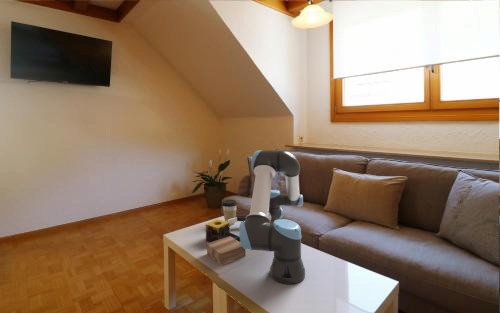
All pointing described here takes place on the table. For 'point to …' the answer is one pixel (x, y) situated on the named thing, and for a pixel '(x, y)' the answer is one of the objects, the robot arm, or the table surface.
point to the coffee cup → (229, 209)
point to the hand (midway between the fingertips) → (233, 225)
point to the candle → (217, 230)
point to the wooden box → (225, 250)
